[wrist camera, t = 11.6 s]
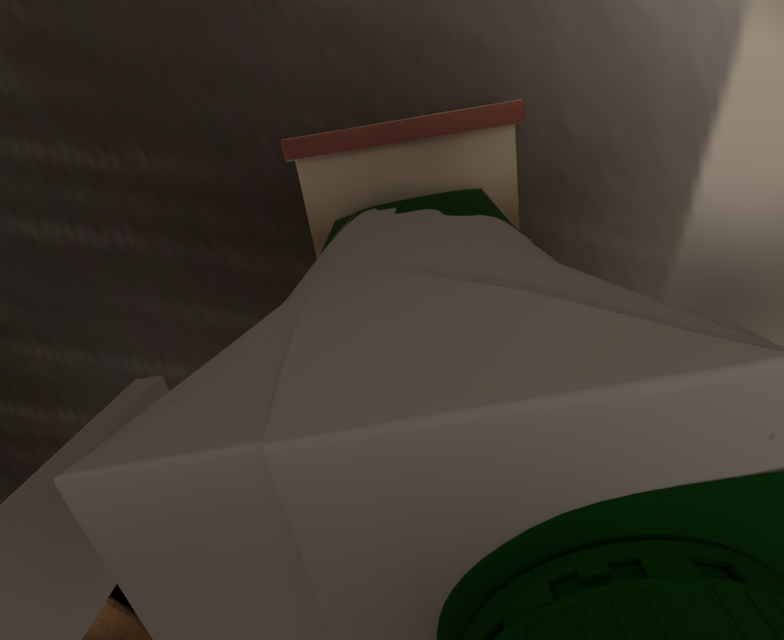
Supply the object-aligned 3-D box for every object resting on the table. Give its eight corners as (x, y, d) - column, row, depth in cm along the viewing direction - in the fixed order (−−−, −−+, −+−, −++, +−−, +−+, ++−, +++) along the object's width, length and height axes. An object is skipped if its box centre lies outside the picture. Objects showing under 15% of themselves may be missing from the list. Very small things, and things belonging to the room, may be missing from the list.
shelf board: (300, 139, 22) (279, 139, 18) (504, 104, 21) (523, 98, 18) (374, 486, 30) (369, 532, 27) (524, 472, 29) (539, 517, 26)
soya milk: (520, 335, 23) (936, 1079, 5) (353, 364, 24) (179, 1073, 6) (498, 162, 20) (1461, 426, 2) (308, 205, 21) (-369, 658, 3)
